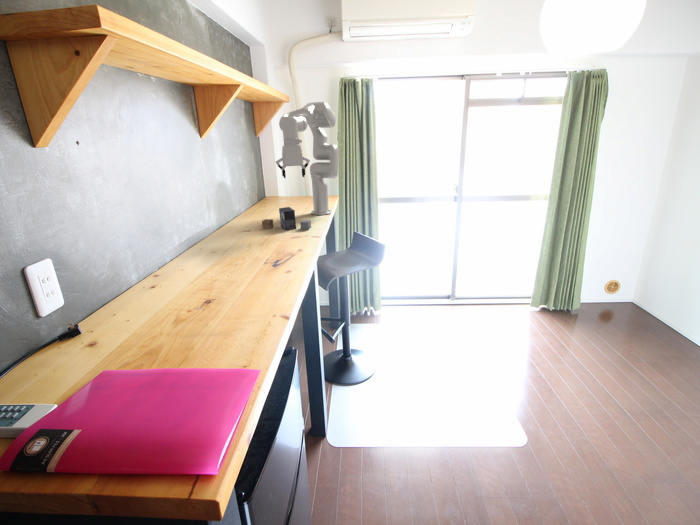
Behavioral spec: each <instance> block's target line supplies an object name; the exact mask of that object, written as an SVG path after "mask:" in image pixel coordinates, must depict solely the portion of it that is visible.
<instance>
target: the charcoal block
mask: <svg viewBox="0 0 700 525" xmlns="http://www.w3.org/2000/svg"><path fill="white" fill-rule="evenodd" d="M299 225H300V230H301V231H310V230H311V229H312V220H311V219H302V220H300V223H299ZM310 228H311V229H310ZM309 229H310V230H309Z"/></svg>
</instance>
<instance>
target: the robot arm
mask: <svg viewBox="0 0 700 525" xmlns="http://www.w3.org/2000/svg"><path fill="white" fill-rule="evenodd" d="M336 121H337V120H336V114H335V113H334V111H333V110H332V108H331V107H330V105H329V103H327V102H326V101H315V102H313V101H312V102H308V103H307V104H305V105H304V106H303V107H301V108H299V109H296V110H292V111H290V112H289V111H288V112H287V113H284V114H283V115H282V116H281V117H280V119H279V122H278V123H279V129H280V130H281V131H282V138H283V145H282V149H281V150H282V152H281V157H280V158H279V159H278V160H275V164H276V165H277V167H278V168H279V169H280V170H281V173H282V174H281V175H282V177H283V179H286V170H285V168H286V167H296V166H297V167H299V166H300V167H301V176H302V177H303V178H305V176H306V169H307V167H308V166H309V163H310V162H311V161H310V159H308V158H307V157H304V156H303V151H302V150H303V149H302V146H301V145H300V144H301V143H302V142H303V141H302V139H299V132H300V133H302V132H305V131H306V130H307V128H308V127H309V128H310V131H311V133H312V137H313V138H312V140H313V142H312V157H313V159H314V160H315V161H317V162H313V163H311V164H310V166H309V173H310V177H311V178H310V179H311V185H312V201H313V210H311V214H312V215H314V216H326V215H330V214H331V213H332V210H330V209H329V208H330V207H329V191H328V182H327V181H326V180H325V179H336V178H337V177H338V176H339V175H338V174H339V159H340V158H339V157H340V154H339V151H340V150H339V146H338V145H336V144H333V143H329V144H328V135H327V133H326V132H325V130H324V129H329V128H334V127H335V126H336V124H337V123H336ZM304 161H305V163H304ZM319 161H320V162H319ZM325 161H326V162H325ZM327 161H329V162H327ZM281 162H282V165H281V164H280V163H281Z"/></svg>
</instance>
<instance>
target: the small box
mask: <svg viewBox="0 0 700 525" xmlns="http://www.w3.org/2000/svg"><path fill="white" fill-rule="evenodd" d="M278 210H279V220H280V227H281V228H283V229H284V230H285V231H291V230H290V229H292V230H297V226H296V225H297V224H296V216H295V215H296V213H295V212H296V211H295V209H293V208H291V207H290V206H286V207H279V208H278Z"/></svg>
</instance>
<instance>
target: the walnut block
mask: <svg viewBox="0 0 700 525" xmlns="http://www.w3.org/2000/svg"><path fill="white" fill-rule="evenodd" d="M261 225H262V229H263V230H272V229H273V228H274V219H272V218H271V219H269V218H268V219H267V218H266V219H262V221H261Z"/></svg>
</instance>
